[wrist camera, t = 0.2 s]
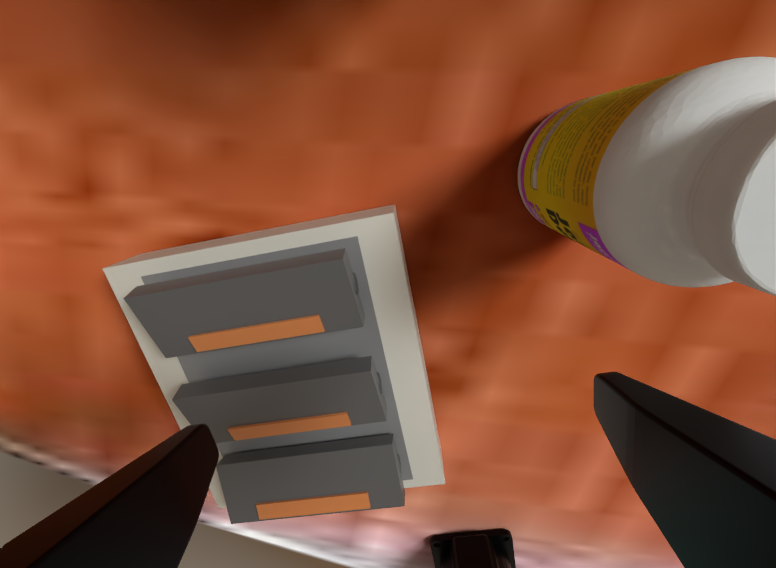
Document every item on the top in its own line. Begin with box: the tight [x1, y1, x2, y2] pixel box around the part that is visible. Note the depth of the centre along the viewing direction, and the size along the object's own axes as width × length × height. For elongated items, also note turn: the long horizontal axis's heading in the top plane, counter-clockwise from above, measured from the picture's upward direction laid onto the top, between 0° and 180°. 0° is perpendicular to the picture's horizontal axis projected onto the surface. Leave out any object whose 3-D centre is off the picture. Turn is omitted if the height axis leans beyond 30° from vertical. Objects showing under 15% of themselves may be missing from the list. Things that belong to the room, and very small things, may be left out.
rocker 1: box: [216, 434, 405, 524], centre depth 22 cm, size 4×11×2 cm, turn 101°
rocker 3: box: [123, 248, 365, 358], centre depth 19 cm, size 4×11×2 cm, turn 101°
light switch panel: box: [103, 204, 445, 508], centre depth 23 cm, size 21×16×3 cm
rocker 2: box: [172, 356, 387, 443], centre depth 21 cm, size 4×11×2 cm, turn 101°
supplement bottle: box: [518, 57, 776, 296], centre depth 14 cm, size 7×7×13 cm
